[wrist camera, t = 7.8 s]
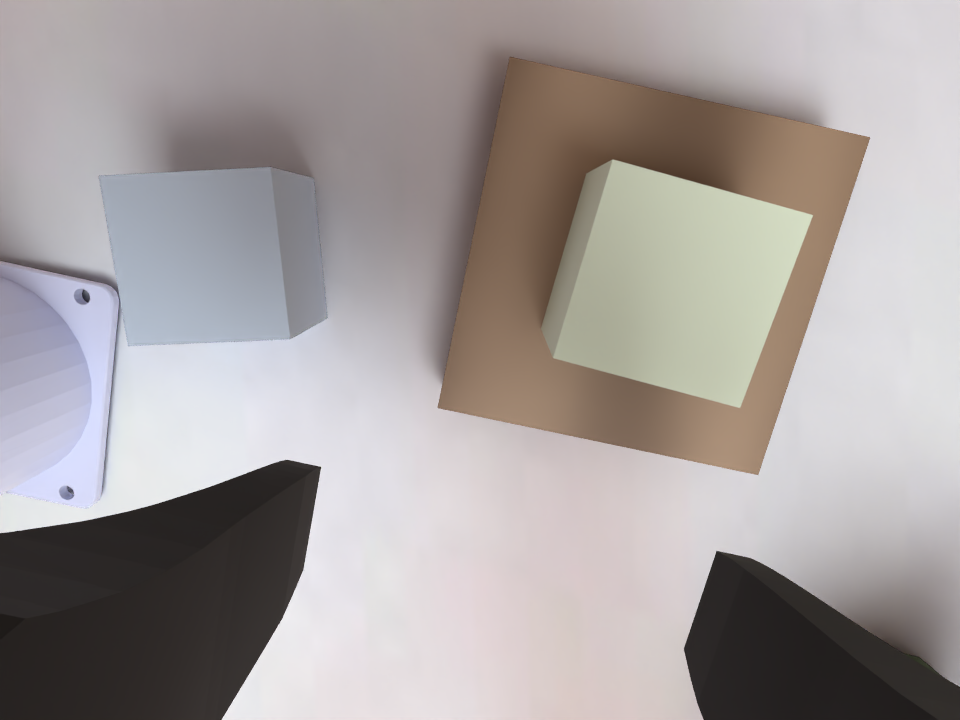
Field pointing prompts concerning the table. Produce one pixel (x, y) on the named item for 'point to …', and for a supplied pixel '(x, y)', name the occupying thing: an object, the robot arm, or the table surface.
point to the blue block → (215, 254)
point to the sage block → (671, 281)
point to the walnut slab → (544, 231)
